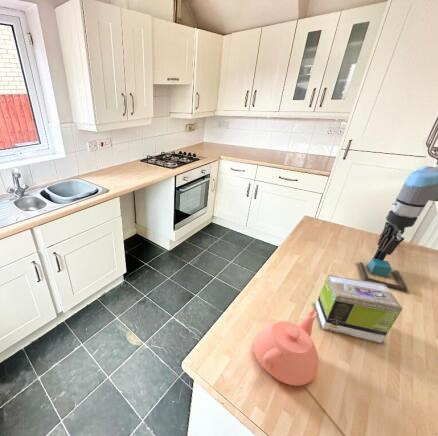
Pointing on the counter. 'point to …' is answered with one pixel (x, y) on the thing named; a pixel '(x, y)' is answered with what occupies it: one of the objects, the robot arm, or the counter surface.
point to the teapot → (288, 351)
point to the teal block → (379, 267)
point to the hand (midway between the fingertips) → (375, 263)
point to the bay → (397, 275)
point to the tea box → (357, 308)
